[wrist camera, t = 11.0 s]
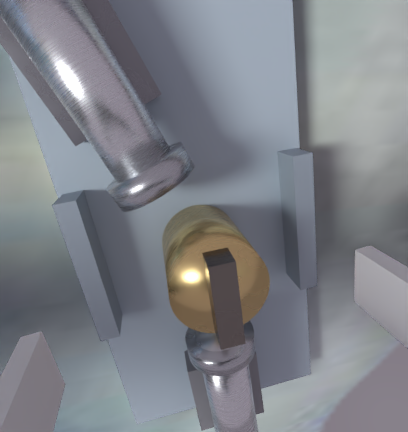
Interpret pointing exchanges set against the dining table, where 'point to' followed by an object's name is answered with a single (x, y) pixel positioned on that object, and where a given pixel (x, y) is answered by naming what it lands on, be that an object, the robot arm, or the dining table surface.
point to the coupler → (213, 274)
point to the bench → (195, 194)
